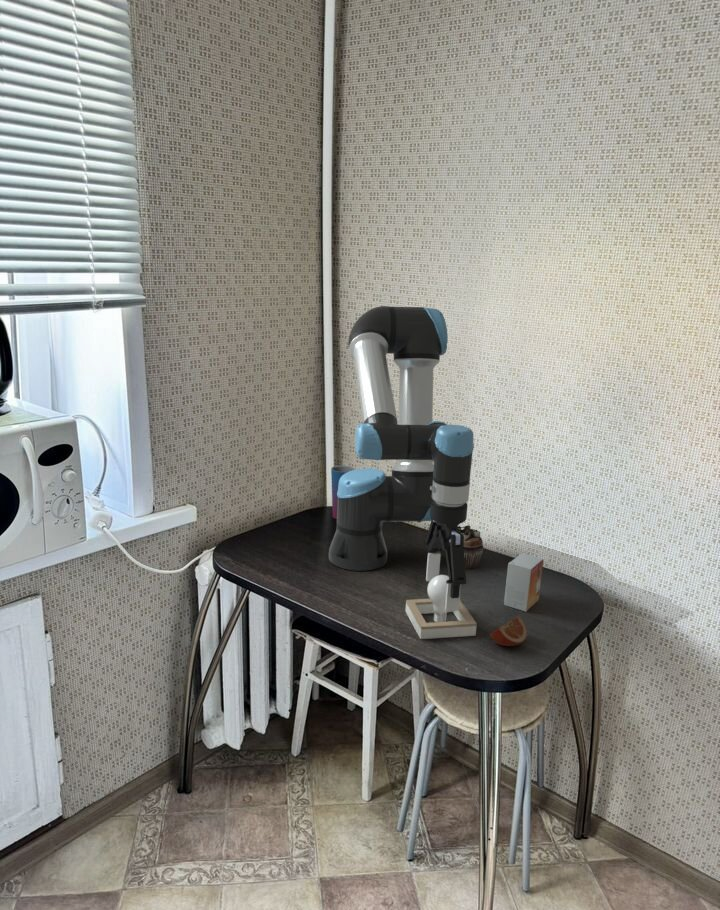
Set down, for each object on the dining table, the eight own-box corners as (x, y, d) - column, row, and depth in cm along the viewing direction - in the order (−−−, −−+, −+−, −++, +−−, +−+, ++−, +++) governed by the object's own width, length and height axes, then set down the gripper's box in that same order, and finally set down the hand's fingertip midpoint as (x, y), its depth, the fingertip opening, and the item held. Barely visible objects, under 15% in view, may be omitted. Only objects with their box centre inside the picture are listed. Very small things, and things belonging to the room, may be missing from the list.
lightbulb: (435, 612, 158) (439, 567, 155) (460, 622, 154) (464, 576, 151) (419, 623, 153) (422, 576, 150) (443, 633, 149) (447, 585, 147)
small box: (526, 612, 160) (531, 569, 157) (503, 605, 163) (507, 562, 160) (539, 600, 166) (544, 558, 164) (516, 593, 170) (521, 552, 167)
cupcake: (489, 564, 185) (493, 528, 182) (463, 573, 179) (467, 536, 176) (462, 552, 192) (466, 517, 189) (437, 560, 186) (440, 524, 183)
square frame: (405, 611, 158) (406, 599, 157) (456, 608, 161) (457, 597, 160) (420, 639, 147) (421, 626, 146) (475, 635, 149) (476, 623, 149)
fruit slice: (505, 630, 152) (507, 609, 151) (532, 642, 148) (535, 621, 146) (482, 644, 146) (484, 622, 145) (511, 657, 142) (513, 635, 140)
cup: (330, 520, 210) (331, 471, 206) (329, 512, 217) (330, 465, 213) (353, 520, 211) (355, 472, 207) (351, 512, 217) (353, 465, 213)
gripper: (415, 482, 157) (409, 570, 163) (451, 524, 134) (442, 625, 140) (447, 481, 159) (440, 568, 165) (488, 522, 135) (478, 622, 141)
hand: (441, 594), depth 152 cm, fingers open, 13 cm apart
